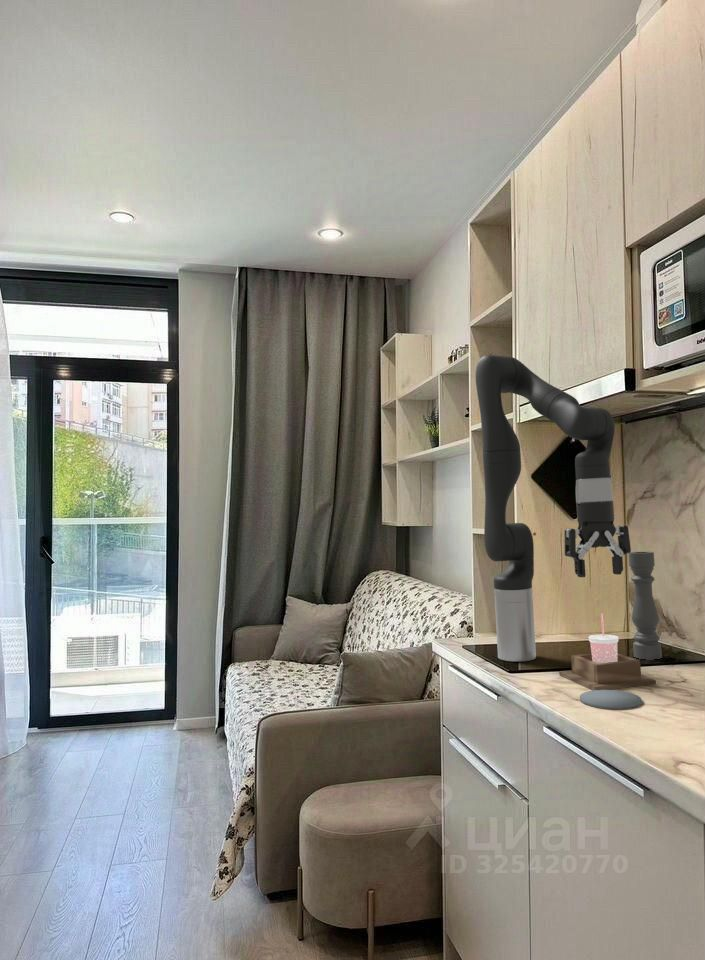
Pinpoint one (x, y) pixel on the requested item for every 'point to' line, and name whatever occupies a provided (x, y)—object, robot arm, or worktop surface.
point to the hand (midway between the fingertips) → (599, 575)
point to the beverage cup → (603, 646)
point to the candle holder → (644, 607)
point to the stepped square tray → (606, 673)
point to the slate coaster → (610, 699)
